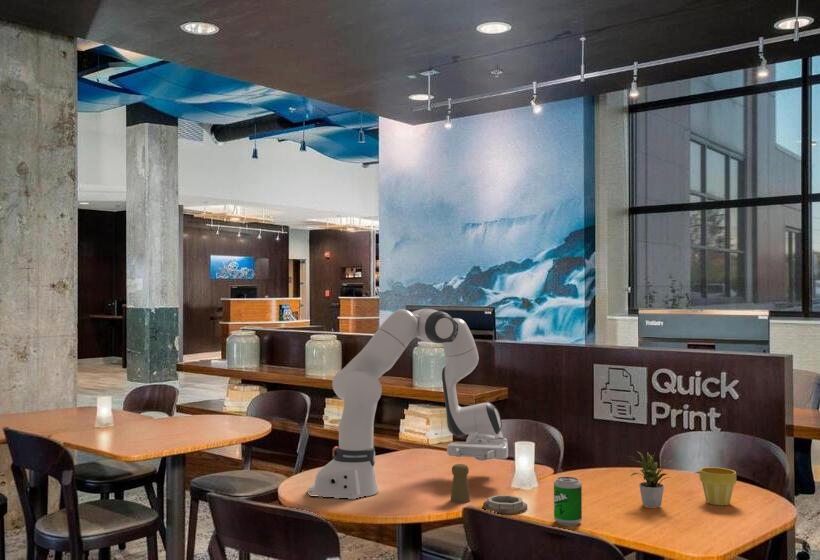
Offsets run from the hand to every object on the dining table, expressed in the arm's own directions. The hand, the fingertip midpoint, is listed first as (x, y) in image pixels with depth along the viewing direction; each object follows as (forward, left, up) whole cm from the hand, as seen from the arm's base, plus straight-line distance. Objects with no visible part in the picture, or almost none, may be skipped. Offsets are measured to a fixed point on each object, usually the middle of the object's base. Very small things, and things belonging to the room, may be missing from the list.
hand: (471, 455), depth 245 cm
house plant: (+52, -15, -12) cm, 55 cm away
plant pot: (+74, -12, -12) cm, 76 cm away
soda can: (+25, -34, -12) cm, 44 cm away
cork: (-4, -12, -12) cm, 17 cm away
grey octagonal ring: (+9, -20, -11) cm, 25 cm away
